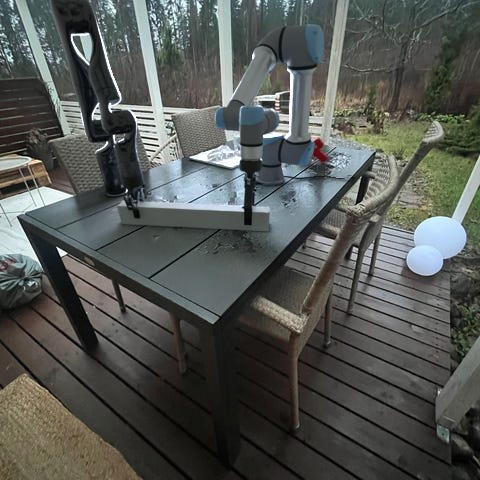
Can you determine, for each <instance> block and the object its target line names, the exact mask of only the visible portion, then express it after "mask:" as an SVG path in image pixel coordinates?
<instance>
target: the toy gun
mask: <svg viewBox="0 0 480 480" xmlns="http://www.w3.org/2000/svg"><path fill="white" fill-rule="evenodd" d="M312 141H314V142H315V147H314V151H313V155H312V157H311V160H313V159H314V158H316V159H317V160H319V161H320V163H321V162H324V163H325V161H326V163H327V162H328V159H329V156H328V155H327V154H326V153H325V152H323V151H322V150H321V149H323V147H324V145H325V143H324V142H323V140H322V138H321V137H320V136H318V137H316V138H314V139H313V140H312ZM324 163H321V165H323V164H324Z"/></svg>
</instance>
